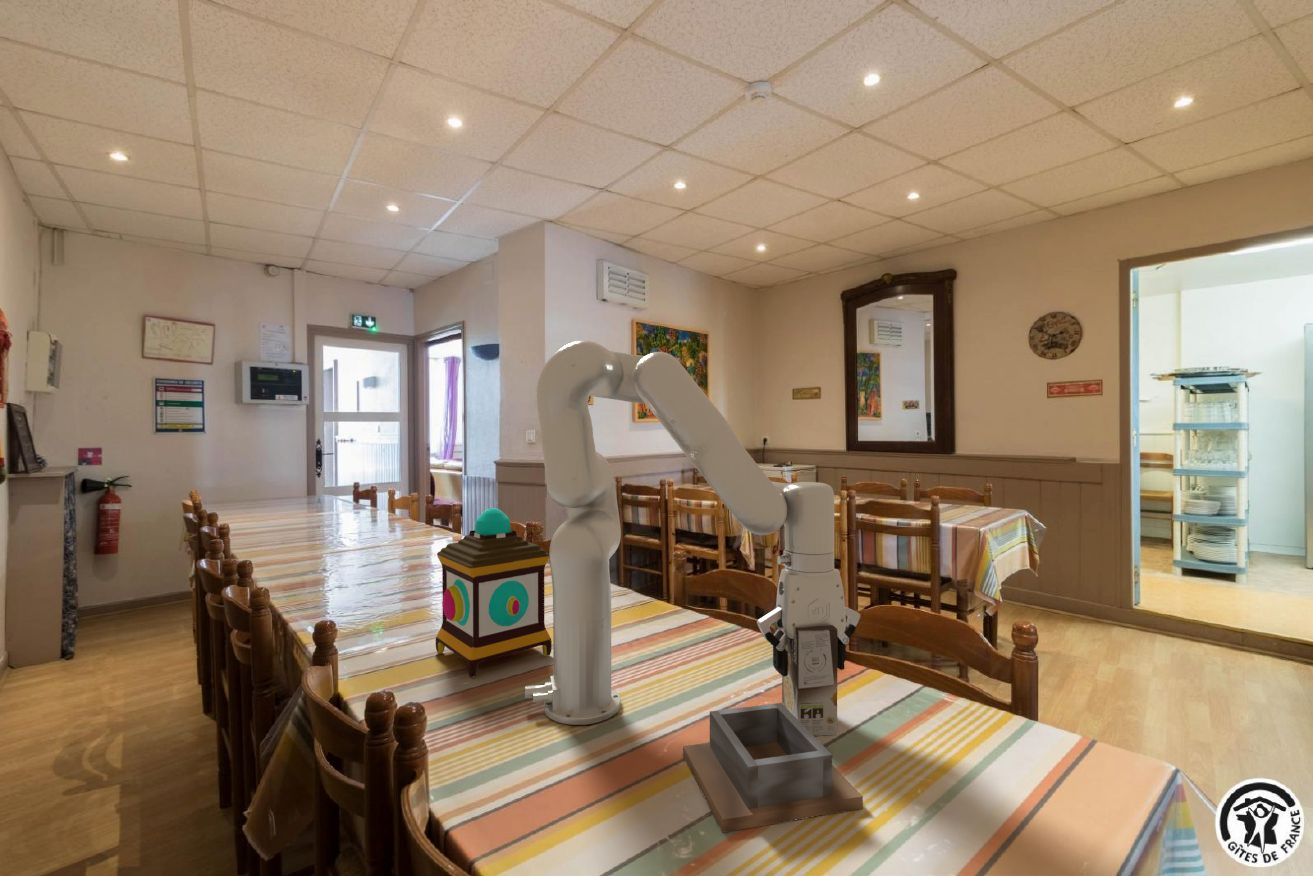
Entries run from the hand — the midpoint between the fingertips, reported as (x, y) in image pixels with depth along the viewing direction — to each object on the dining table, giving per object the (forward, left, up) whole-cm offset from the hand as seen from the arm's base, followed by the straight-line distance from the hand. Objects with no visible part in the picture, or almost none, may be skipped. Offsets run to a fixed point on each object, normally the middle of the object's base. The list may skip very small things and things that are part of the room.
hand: (809, 669), depth 93 cm
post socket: (-13, -13, -8) cm, 20 cm away
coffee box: (0, 0, -8) cm, 8 cm away
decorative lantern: (-49, +40, -8) cm, 64 cm away
